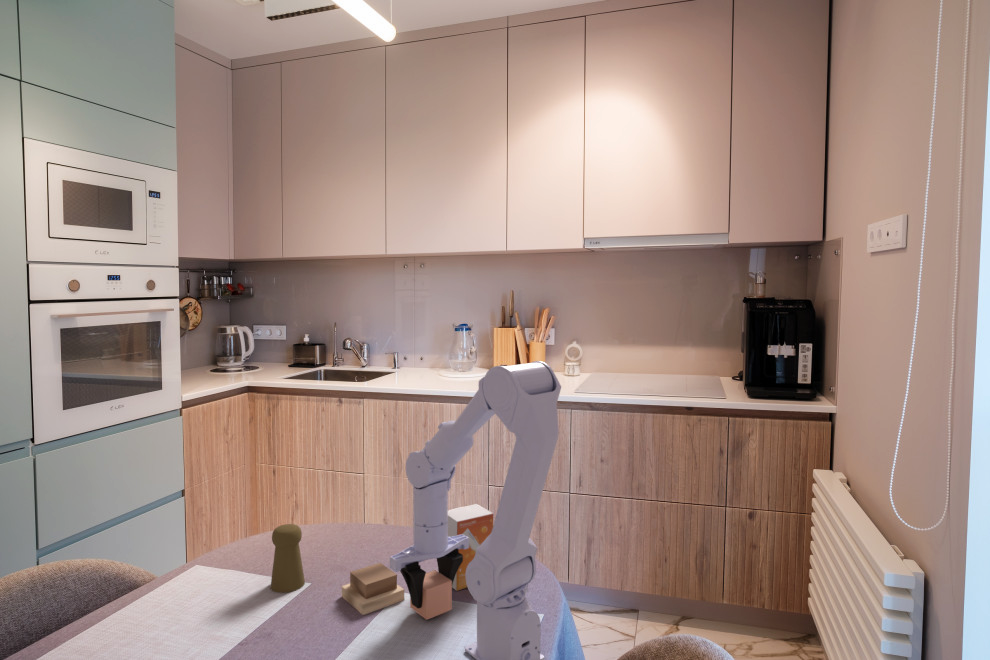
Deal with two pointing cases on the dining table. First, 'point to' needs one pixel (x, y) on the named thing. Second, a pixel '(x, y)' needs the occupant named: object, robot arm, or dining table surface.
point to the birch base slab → (371, 599)
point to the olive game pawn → (287, 559)
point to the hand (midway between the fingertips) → (430, 600)
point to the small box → (469, 534)
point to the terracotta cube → (435, 595)
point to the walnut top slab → (373, 580)
